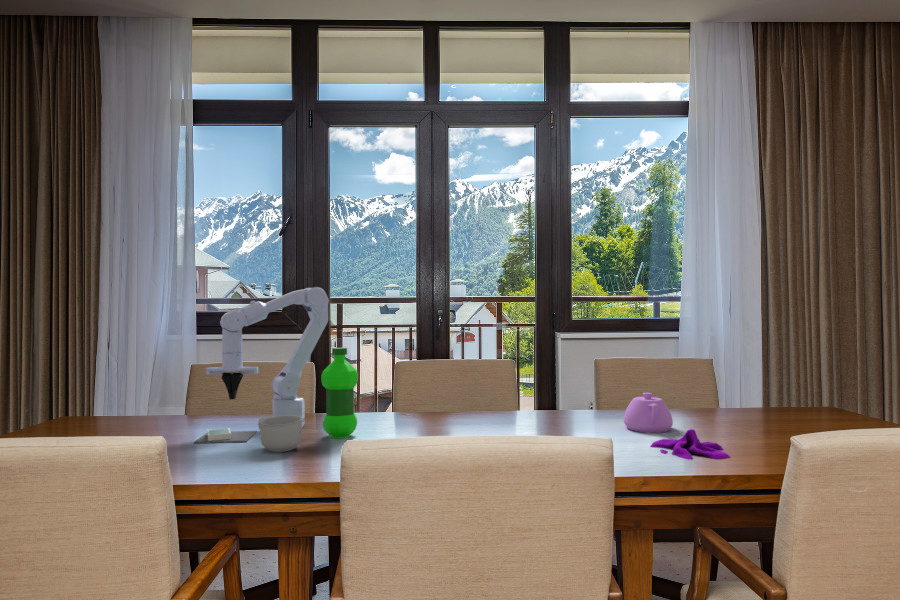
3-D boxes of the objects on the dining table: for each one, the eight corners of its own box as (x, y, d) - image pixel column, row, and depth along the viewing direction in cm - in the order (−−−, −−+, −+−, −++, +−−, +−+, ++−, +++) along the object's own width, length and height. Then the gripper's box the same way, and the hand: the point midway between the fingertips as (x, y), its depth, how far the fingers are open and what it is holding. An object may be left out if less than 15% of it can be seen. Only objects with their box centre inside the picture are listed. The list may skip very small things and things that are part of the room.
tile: (231, 433, 174) (207, 435, 171) (231, 438, 174) (207, 440, 171) (229, 427, 181) (207, 429, 179) (229, 433, 181) (207, 435, 179)
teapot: (662, 422, 195) (661, 387, 195) (681, 435, 175) (680, 397, 175) (617, 421, 196) (616, 387, 196) (630, 435, 176) (630, 397, 176)
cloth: (645, 442, 170) (645, 420, 170) (718, 445, 166) (718, 422, 166) (657, 464, 148) (656, 438, 148) (741, 467, 144) (741, 440, 144)
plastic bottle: (318, 434, 181) (317, 347, 181) (353, 431, 185) (353, 346, 185) (325, 441, 171) (324, 350, 171) (363, 437, 176) (362, 348, 176)
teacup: (310, 449, 163) (309, 418, 163) (271, 456, 155) (271, 424, 155) (283, 441, 173) (283, 412, 173) (246, 447, 165) (246, 417, 165)
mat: (256, 432, 184) (256, 430, 184) (246, 442, 172) (246, 440, 172) (207, 433, 183) (207, 432, 183) (193, 443, 170) (193, 442, 170)
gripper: (260, 351, 189) (260, 396, 189) (210, 351, 188) (211, 397, 188) (255, 353, 182) (255, 399, 182) (203, 353, 181) (204, 400, 181)
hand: (232, 398), depth 184 cm, fingers closed
